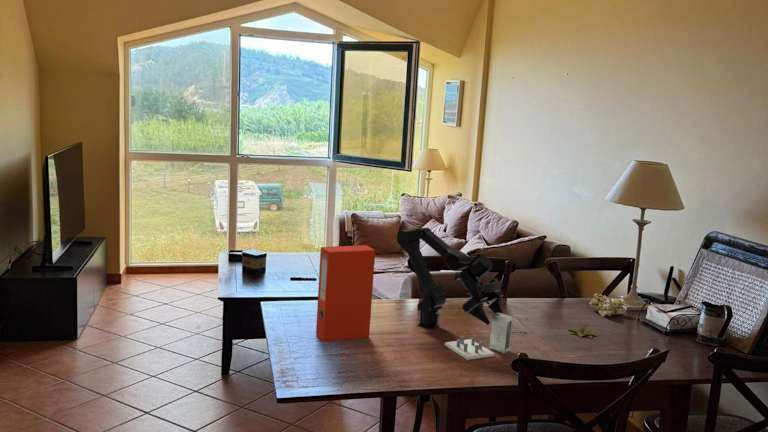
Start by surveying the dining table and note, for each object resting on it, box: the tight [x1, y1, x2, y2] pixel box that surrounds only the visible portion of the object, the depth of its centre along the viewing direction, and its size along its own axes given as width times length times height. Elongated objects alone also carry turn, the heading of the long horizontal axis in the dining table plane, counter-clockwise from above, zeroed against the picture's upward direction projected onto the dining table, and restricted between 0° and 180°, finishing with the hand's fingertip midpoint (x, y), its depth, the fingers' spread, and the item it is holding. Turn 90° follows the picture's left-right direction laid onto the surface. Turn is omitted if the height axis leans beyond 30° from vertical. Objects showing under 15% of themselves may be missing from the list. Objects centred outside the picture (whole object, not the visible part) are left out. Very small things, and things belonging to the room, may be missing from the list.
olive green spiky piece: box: [568, 322, 598, 339], centre depth 257 cm, size 12×12×5 cm
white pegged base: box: [444, 335, 495, 361], centre depth 231 cm, size 14×11×4 cm
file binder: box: [315, 244, 376, 343], centre depth 234 cm, size 8×17×32 cm, turn 116°
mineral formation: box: [589, 293, 627, 318], centre depth 286 cm, size 8×13×15 cm
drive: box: [488, 313, 514, 354], centre depth 233 cm, size 6×4×12 cm, turn 49°
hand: (496, 321), depth 234 cm, fingers open, 9 cm apart
